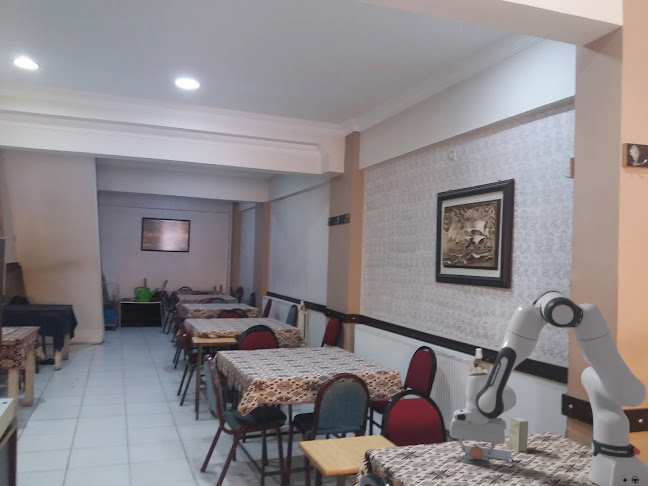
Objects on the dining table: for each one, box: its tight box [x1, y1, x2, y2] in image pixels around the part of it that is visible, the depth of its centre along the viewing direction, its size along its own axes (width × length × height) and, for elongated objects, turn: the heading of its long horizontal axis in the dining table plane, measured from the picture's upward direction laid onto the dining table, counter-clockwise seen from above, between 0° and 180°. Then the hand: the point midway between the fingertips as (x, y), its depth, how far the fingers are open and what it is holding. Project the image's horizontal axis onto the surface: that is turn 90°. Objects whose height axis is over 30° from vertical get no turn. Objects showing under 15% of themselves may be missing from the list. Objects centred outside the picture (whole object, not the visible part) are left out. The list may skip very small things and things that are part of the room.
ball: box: [470, 445, 483, 460], centre depth 196 cm, size 5×5×5 cm
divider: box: [462, 443, 513, 463], centre depth 200 cm, size 18×5×4 cm, turn 75°
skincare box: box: [508, 416, 529, 452], centre depth 211 cm, size 6×4×12 cm
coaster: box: [463, 454, 490, 467], centre depth 196 cm, size 9×9×1 cm
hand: (476, 452), depth 196 cm, fingers open, 8 cm apart
